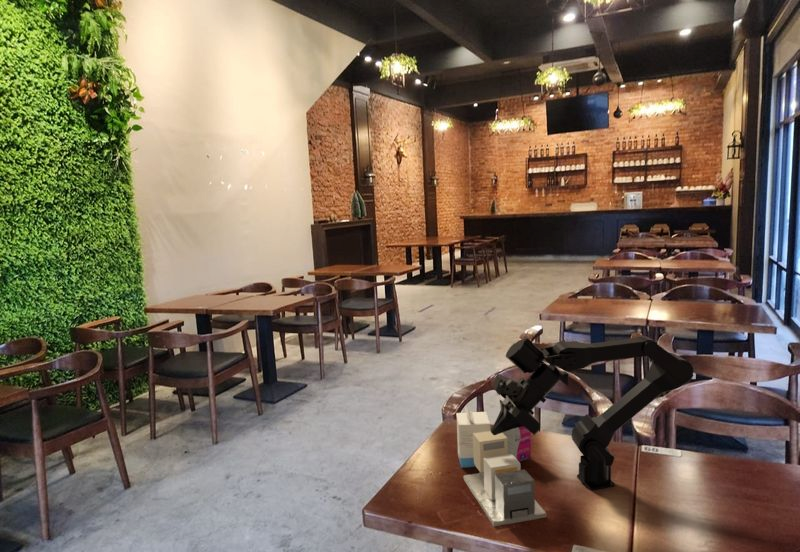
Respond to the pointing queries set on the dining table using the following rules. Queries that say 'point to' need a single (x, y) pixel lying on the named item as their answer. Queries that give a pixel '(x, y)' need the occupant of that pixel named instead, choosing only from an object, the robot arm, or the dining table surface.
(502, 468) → the block
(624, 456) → the dining table surface
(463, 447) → the ink box
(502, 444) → the block
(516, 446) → the supplement box
